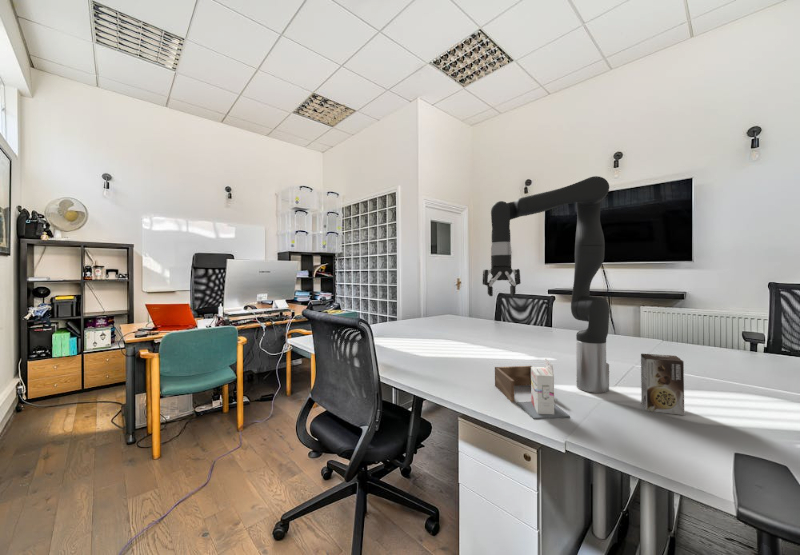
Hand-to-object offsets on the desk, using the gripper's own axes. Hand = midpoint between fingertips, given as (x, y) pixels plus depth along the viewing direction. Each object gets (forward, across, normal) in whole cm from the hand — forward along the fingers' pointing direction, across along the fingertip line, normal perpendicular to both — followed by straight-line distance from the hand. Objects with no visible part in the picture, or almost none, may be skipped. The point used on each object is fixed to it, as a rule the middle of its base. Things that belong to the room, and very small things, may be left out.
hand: (501, 295), depth 124 cm
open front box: (+33, -2, +13) cm, 36 cm away
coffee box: (+33, -38, +30) cm, 59 cm away
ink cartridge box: (+33, -2, +27) cm, 43 cm away
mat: (+33, -2, +27) cm, 43 cm away
